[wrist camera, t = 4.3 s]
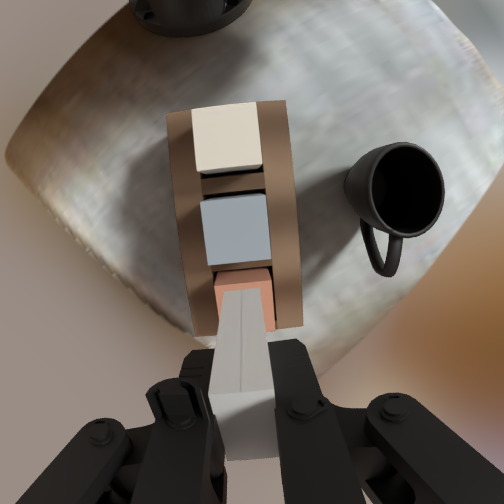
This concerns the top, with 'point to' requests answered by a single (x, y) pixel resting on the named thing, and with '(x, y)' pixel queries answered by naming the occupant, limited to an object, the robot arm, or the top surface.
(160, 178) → the top surface
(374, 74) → the top surface
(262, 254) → the slate key
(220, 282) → the terracotta key
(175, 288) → the top surface
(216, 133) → the ivory key
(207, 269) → the brown wooden block
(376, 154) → the mug
